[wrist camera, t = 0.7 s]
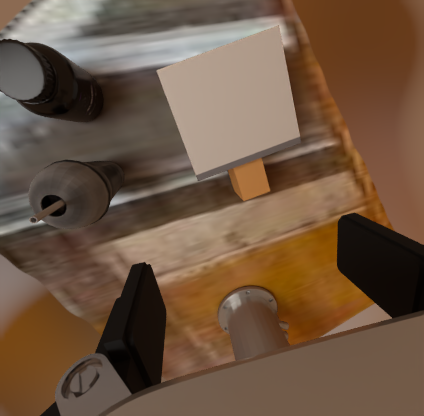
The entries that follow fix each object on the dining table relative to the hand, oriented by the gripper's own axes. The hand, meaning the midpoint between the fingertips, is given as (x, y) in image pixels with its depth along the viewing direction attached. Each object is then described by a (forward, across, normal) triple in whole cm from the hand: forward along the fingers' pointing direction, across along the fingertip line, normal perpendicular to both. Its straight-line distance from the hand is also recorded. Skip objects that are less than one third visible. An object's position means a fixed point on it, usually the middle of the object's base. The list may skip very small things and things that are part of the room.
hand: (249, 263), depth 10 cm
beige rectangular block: (+27, -5, -8) cm, 28 cm away
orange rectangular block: (+26, -6, -2) cm, 26 cm away
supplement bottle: (+27, +15, -14) cm, 34 cm away
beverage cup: (+27, +14, -2) cm, 31 cm away
